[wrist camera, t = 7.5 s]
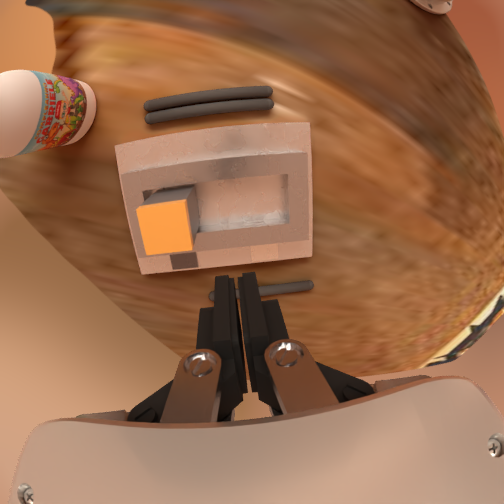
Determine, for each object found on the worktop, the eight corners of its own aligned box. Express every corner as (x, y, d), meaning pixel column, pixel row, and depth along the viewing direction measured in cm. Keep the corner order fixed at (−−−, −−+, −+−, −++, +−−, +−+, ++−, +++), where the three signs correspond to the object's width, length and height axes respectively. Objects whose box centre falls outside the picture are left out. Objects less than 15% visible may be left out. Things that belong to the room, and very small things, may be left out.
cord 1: (147, 125, 25) (143, 124, 24) (145, 102, 24) (141, 101, 23) (273, 109, 25) (275, 108, 24) (271, 86, 24) (273, 84, 23)
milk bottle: (49, 151, 24) (-81, 197, 6) (46, 92, 21) (-83, 96, 3) (100, 136, 24) (-42, 166, 6) (97, 72, 21) (-35, 39, 3)
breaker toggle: (156, 190, 26) (136, 209, 20) (194, 184, 26) (184, 202, 20) (163, 226, 28) (146, 255, 22) (199, 222, 28) (192, 250, 22)
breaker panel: (119, 144, 25) (107, 147, 22) (305, 122, 26) (315, 121, 23) (144, 268, 32) (137, 283, 28) (308, 251, 33) (317, 264, 29)
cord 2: (209, 298, 34) (209, 303, 33) (208, 290, 34) (207, 295, 33) (312, 286, 35) (314, 291, 34) (312, 278, 34) (315, 283, 33)
